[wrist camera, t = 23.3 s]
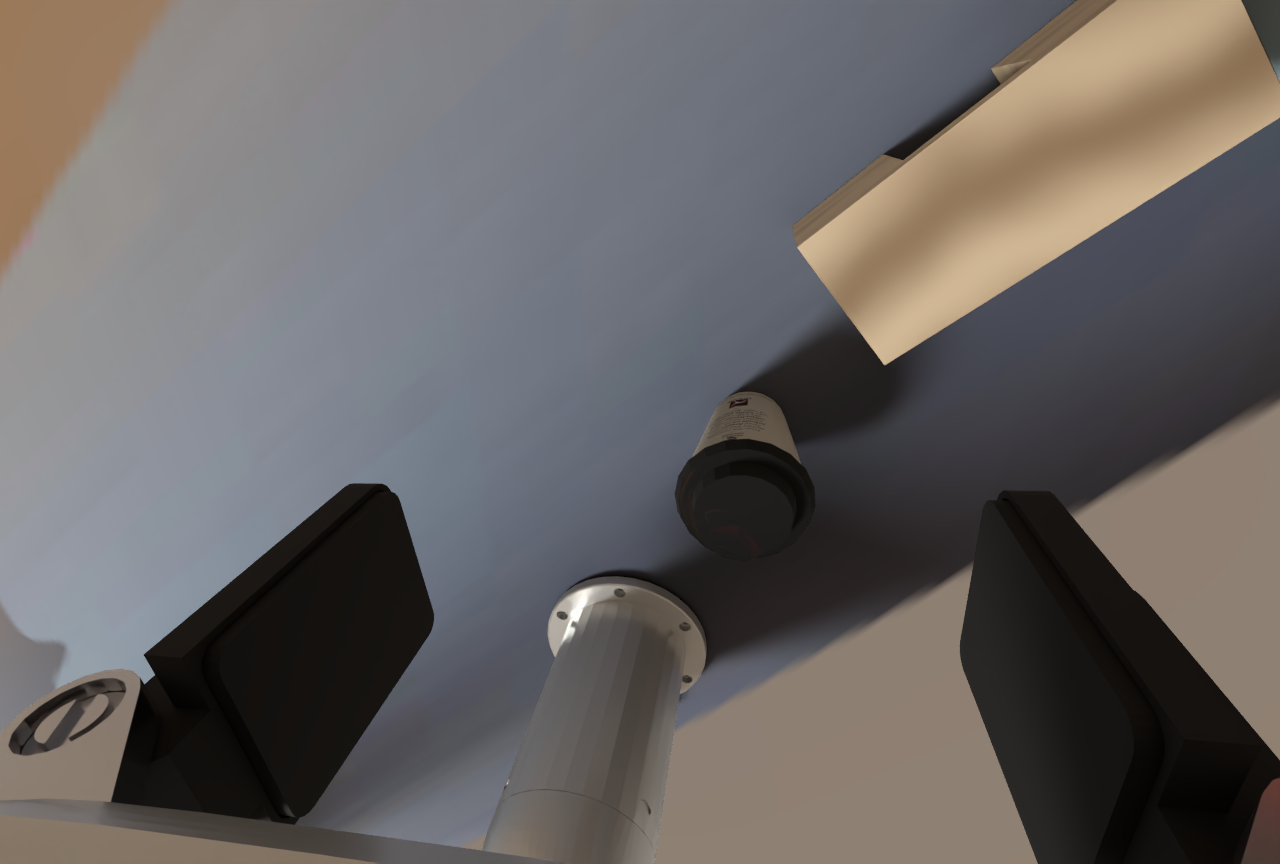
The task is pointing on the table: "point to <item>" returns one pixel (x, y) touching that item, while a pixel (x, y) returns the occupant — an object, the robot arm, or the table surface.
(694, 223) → the table surface
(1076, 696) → the robot arm
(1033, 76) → the beam
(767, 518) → the coffee cup
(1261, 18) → the v block
